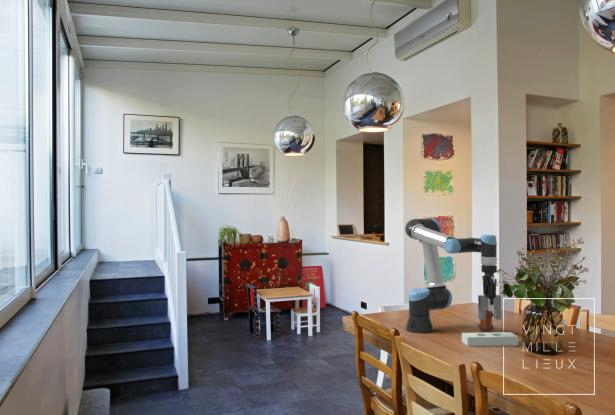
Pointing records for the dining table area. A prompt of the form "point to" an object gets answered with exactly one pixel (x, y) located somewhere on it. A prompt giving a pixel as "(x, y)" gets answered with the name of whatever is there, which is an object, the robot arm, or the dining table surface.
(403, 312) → the dining table surface
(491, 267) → the robot arm
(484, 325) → the mug
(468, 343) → the pale board with holes
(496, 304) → the grey block
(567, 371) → the dining table surface
